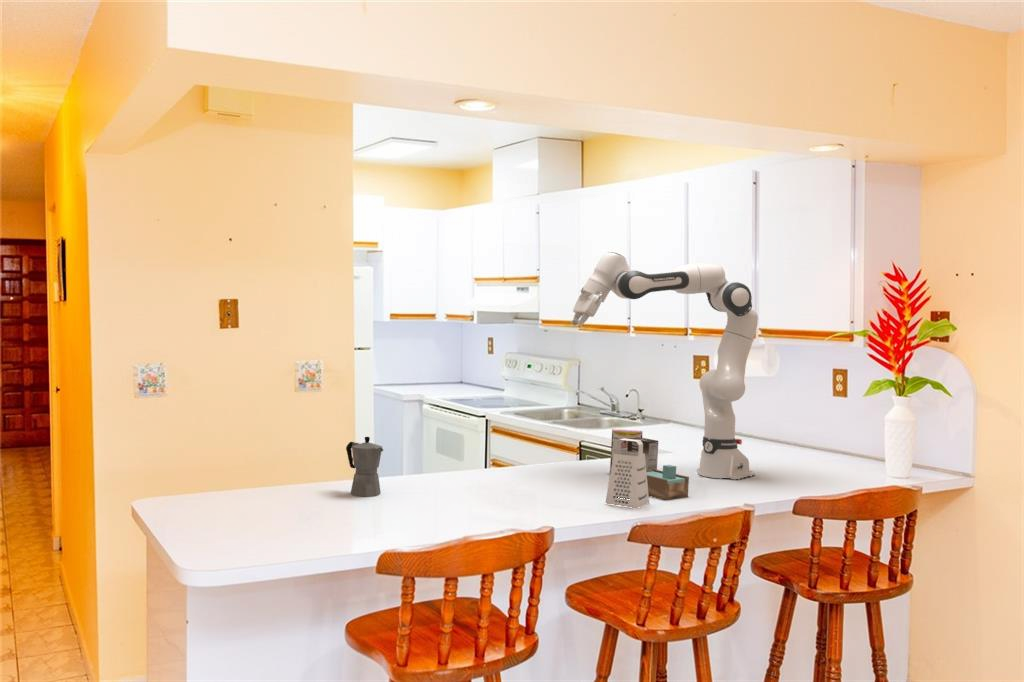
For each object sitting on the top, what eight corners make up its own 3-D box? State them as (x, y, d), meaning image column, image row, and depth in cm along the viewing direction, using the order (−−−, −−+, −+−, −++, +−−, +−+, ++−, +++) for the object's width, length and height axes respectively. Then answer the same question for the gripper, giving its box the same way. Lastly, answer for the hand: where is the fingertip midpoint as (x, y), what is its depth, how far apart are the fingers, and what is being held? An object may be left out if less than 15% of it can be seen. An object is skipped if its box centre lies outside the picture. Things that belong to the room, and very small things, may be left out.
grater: (636, 509, 275) (639, 443, 275) (605, 504, 280) (607, 440, 280) (649, 503, 284) (651, 439, 284) (618, 498, 290) (620, 436, 289)
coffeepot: (391, 494, 283) (393, 437, 283) (370, 499, 276) (371, 440, 275) (356, 487, 292) (357, 432, 292) (334, 492, 285) (336, 435, 284)
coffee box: (624, 484, 313) (626, 438, 313) (635, 482, 318) (637, 436, 317) (646, 488, 307) (648, 441, 307) (657, 486, 312) (659, 440, 311)
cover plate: (653, 474, 307) (653, 459, 307) (685, 481, 295) (685, 466, 295) (635, 476, 302) (635, 461, 302) (667, 484, 290) (667, 468, 290)
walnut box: (652, 487, 309) (653, 468, 309) (687, 496, 296) (688, 477, 296) (629, 490, 302) (629, 471, 302) (664, 500, 290) (665, 479, 289)
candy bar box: (609, 475, 330) (611, 430, 329) (609, 472, 335) (611, 428, 334) (640, 477, 329) (642, 432, 328) (640, 474, 334) (642, 430, 333)
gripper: (610, 296, 317) (590, 330, 316) (595, 296, 337) (576, 328, 337) (595, 287, 316) (575, 321, 315) (581, 288, 336) (562, 320, 336)
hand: (576, 325), depth 326 cm, fingers open, 8 cm apart
